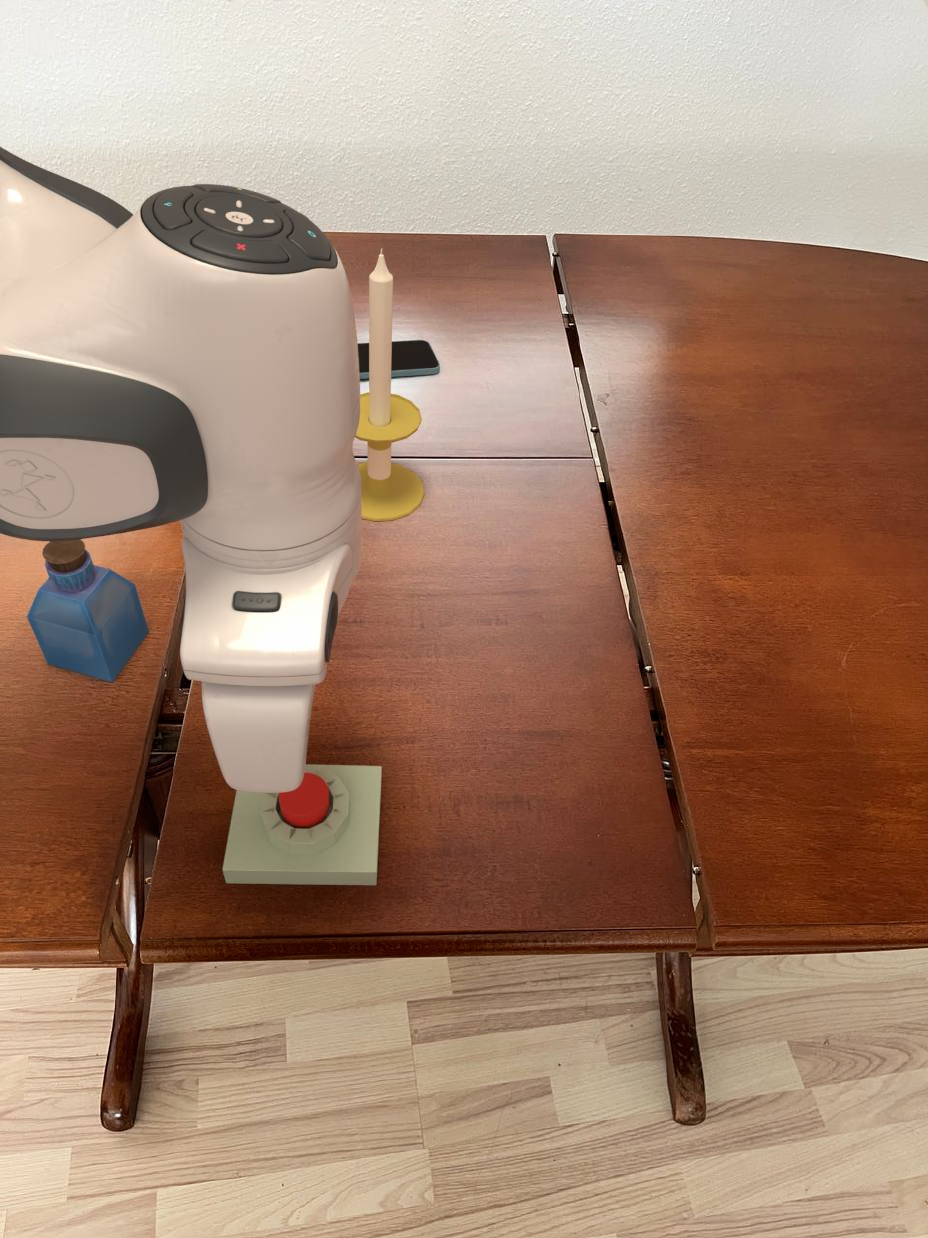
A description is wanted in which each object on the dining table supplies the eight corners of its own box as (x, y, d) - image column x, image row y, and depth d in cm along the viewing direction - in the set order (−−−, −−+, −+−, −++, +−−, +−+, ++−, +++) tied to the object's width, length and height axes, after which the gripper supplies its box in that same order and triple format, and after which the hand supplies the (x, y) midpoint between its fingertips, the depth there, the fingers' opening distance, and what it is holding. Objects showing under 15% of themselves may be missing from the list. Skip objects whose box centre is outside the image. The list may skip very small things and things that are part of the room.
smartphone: (442, 368, 110) (325, 375, 106) (441, 375, 111) (325, 383, 107) (427, 338, 115) (315, 345, 110) (427, 346, 115) (315, 352, 111)
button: (277, 827, 62) (275, 815, 61) (283, 784, 65) (281, 771, 63) (327, 828, 62) (326, 816, 61) (331, 785, 65) (330, 772, 64)
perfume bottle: (47, 664, 75) (4, 566, 66) (87, 614, 79) (51, 516, 70) (112, 682, 74) (77, 585, 65) (148, 631, 78) (120, 534, 69)
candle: (347, 529, 90) (341, 281, 70) (322, 471, 96) (309, 228, 76) (437, 511, 93) (455, 269, 73) (407, 456, 99) (416, 219, 79)
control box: (225, 883, 63) (218, 858, 60) (244, 777, 69) (238, 749, 66) (376, 885, 64) (376, 861, 61) (381, 780, 70) (382, 753, 67)
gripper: (242, 411, 50) (264, 577, 60) (170, 689, 37) (214, 843, 47) (350, 417, 51) (354, 581, 61) (319, 693, 37) (331, 845, 47)
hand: (293, 697), depth 54 cm, fingers closed
